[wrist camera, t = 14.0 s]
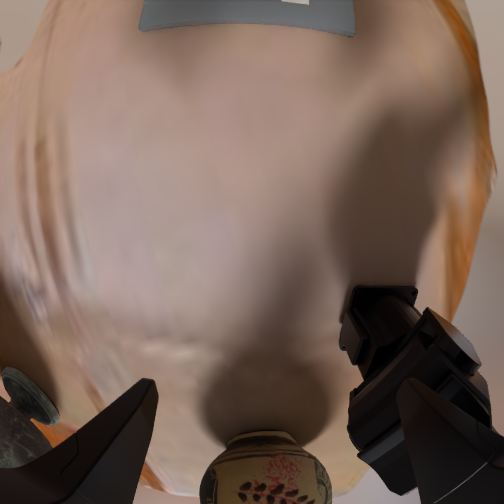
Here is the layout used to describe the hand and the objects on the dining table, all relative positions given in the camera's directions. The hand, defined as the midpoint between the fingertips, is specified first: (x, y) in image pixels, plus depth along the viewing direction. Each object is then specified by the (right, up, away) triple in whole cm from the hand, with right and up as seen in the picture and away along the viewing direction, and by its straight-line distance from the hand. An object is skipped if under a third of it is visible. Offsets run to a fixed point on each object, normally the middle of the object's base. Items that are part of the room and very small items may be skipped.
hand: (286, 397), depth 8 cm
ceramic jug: (+1, -20, +21) cm, 29 cm away
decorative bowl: (-39, -20, +22) cm, 49 cm away
